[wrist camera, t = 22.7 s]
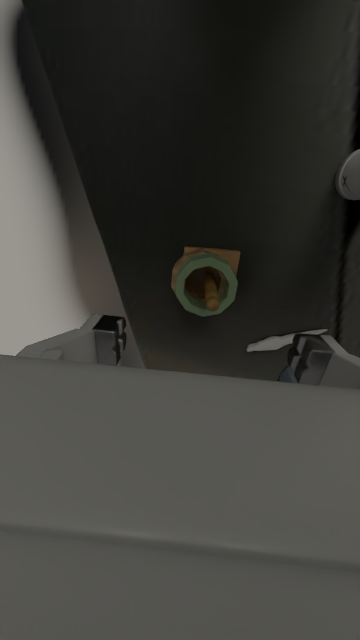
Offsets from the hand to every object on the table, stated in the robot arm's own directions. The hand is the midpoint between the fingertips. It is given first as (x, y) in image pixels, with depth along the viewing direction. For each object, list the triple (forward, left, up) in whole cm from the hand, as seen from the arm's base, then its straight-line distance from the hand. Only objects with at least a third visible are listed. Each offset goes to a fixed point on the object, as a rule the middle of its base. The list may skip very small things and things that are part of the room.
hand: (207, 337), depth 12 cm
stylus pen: (+17, +18, -31) cm, 40 cm away
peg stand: (+6, +2, -31) cm, 32 cm away
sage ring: (+6, +1, -27) cm, 27 cm away
